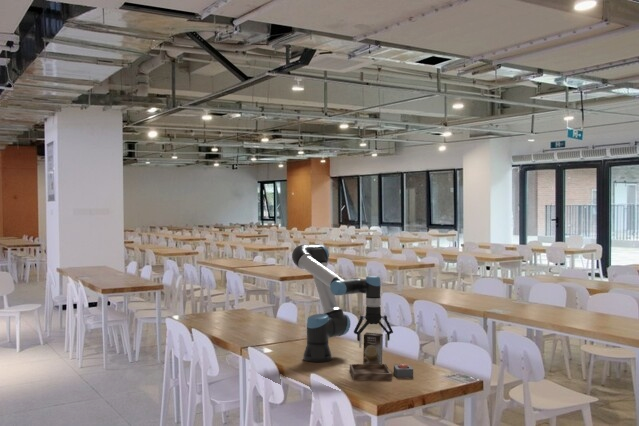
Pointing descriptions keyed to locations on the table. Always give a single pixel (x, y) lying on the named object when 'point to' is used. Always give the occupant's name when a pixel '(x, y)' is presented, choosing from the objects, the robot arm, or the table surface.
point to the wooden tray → (370, 372)
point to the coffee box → (372, 348)
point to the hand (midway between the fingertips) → (373, 347)
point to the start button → (403, 366)
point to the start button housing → (403, 372)
